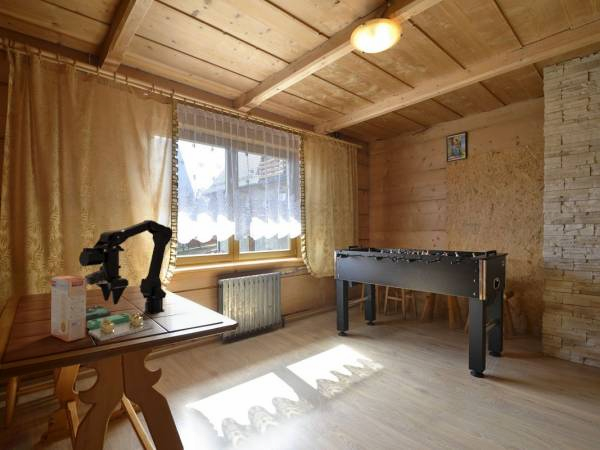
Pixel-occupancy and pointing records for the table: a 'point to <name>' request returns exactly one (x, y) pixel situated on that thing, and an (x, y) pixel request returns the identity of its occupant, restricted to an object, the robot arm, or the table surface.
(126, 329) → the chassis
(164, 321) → the table surface
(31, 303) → the table surface
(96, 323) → the board
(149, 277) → the robot arm
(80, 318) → the cracker box
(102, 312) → the disk drive
